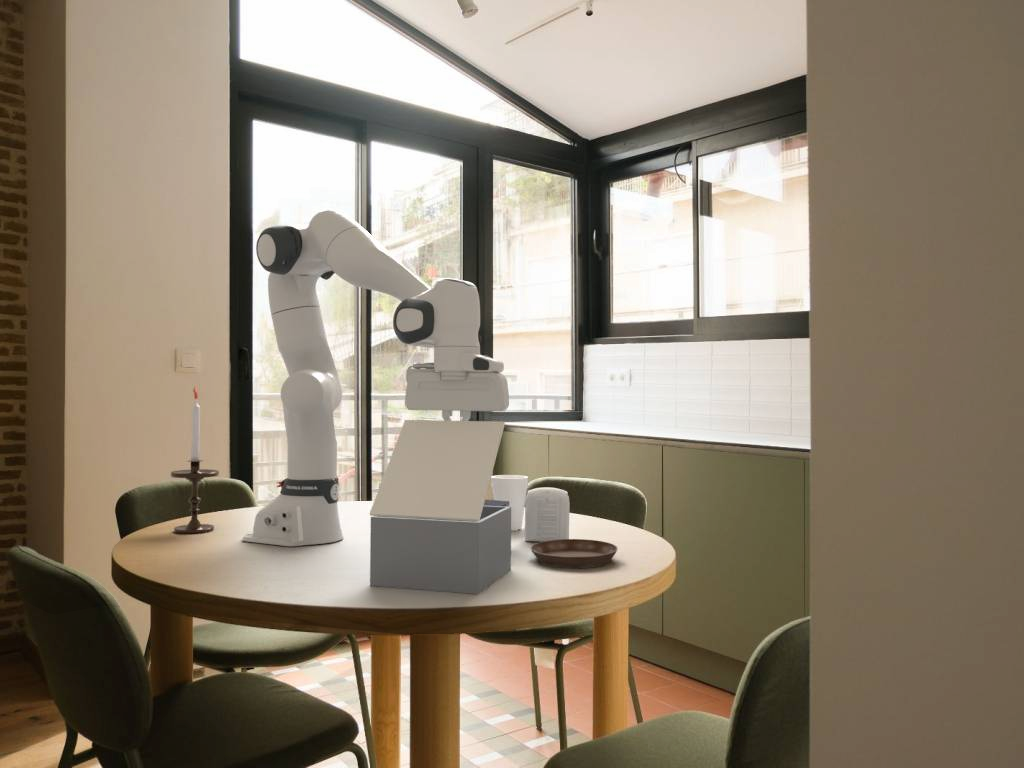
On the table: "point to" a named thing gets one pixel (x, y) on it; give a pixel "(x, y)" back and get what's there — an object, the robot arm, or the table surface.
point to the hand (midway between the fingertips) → (456, 434)
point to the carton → (441, 552)
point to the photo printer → (546, 514)
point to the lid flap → (439, 470)
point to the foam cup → (511, 495)
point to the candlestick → (194, 476)
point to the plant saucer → (574, 552)
